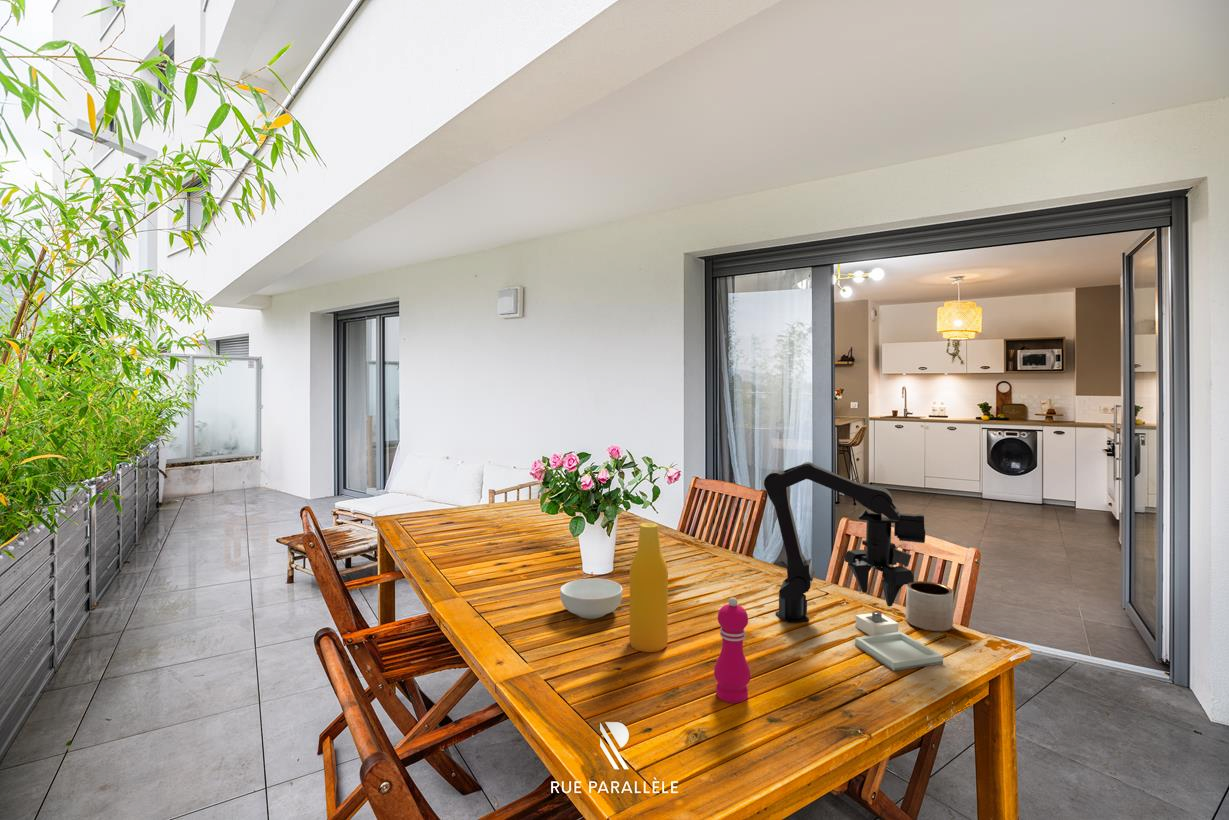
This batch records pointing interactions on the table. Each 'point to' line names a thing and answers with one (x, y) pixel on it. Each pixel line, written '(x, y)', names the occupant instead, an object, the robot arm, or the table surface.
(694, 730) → the table surface
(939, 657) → the tray
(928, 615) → the planter
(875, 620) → the post
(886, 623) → the white block
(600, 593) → the cereal bowl
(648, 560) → the beer bottle
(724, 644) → the pepper mill
